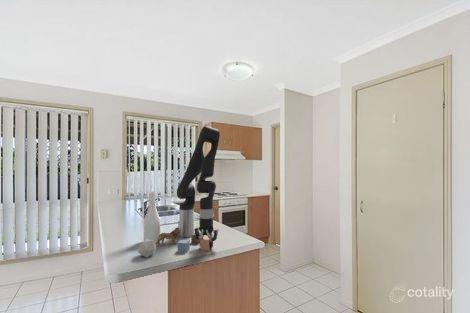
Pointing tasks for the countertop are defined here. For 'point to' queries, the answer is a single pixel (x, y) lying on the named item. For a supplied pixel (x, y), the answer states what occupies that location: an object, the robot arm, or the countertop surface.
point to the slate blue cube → (183, 245)
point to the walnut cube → (194, 239)
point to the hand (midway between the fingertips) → (206, 247)
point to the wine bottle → (152, 220)
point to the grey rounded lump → (147, 247)
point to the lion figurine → (169, 236)
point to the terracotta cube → (205, 244)
